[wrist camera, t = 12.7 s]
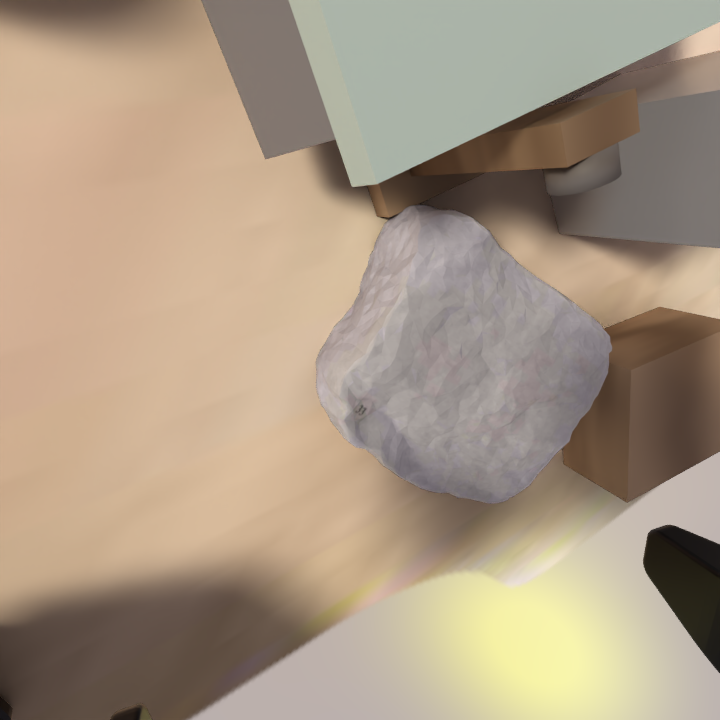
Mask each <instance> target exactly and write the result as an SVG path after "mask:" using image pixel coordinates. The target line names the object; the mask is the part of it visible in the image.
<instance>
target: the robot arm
mask: <svg viewBox="0 0 720 720" xmlns="http://www.w3.org/2000/svg"><path fill="white" fill-rule="evenodd" d="M643 564H644V568H645V571H646V573H647V575H648V576H649V578H650V579H651V581H652V582H653V584H654V585H655V586H656V588H657V589H658V591H659V592H660V593H661V595H662V596H663V598H664V599H665V601H666V602H667V603H668V605H669V606H670V608H671V609H672V610H673V612H674V613H675V615H676V616H677V617H678V619H679V620H680V622H681V623H682V624H683V626H684V627H685V629H686V630H687V632H688V633H689V634H690V636H691V637H692V639H693V640H694V641H695V643H696V644H697V645H698V647H699V648H700V649H701V651H702V652H703V653H704V655H705V656H706V657H707V658H708V660H709V661H710V662H711V663H712V664H713V666H714V667H715V668H716V669H717V670H718V672H719V673H720V544H717V543H715V542H713V541H710V540H708V539H706V538H703V537H701V536H698V535H696V534H693V533H691V532H689V531H686V530H684V529H681V528H679V527H676V526H673V525H665V526H662V527H659V528H656V529H653V530H651V531H650V532H649V533H648V536H647V541H646V547H645V553H644V558H643ZM11 717H12V707H11V706H10V704H8V703H7V702H6V701H5V700H4V699H3V698H2V697H1V696H0V720H11ZM110 720H152V718H151V716H150V714H149V712H148V710H147V708H146V706H145V705H144V704H141V703H139V704H136V705H133V706H130V707H127V708H124V709H121V710H119V711H117V712H116V713H115V714H114V715H113V716H112V717H111V719H110Z"/></svg>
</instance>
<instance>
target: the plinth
mask: <svg viewBox="0 0 720 720" xmlns="http://www.w3.org/2000/svg"><path fill="white" fill-rule="evenodd" d="M604 330H605V331H606V332H607V334H608V335H609V336H610V343H611V345H612V351H611V352H610V353H609V368H608V374H607V376H606V378H605V381H604V383H603V385H602V387H601V390H600V392H599V394H598V396H597V397H596V398H595V399H594V402H593V404H592V406H591V408H590V410H589V411H588V412H587V413H586V414H585V415H584V416H583V417H582V418H581V419H580V421H579V423H578V425H577V426H576V427H575V429H574V430H573V432H572V434H571V437H570V441H569V442H568V443H567V444H566V445H565V446H564V447H563V458H564V465H566V466H568V467H569V468H571V469H573V470H574V471H576V472H577V473H579V474H581V475H582V476H584V477H586V478H587V479H589V480H591V481H592V482H594V483H596V484H597V485H599V486H601V487H602V488H604V489H606V490H607V491H609V492H611V493H612V494H614V495H616V496H617V497H619V498H621V499H622V500H624V501H626V502H629V501H631V500H633V499H635V498H636V497H638V496H640V495H642V494H644V493H646V492H647V491H649V490H651V489H653V488H655V487H656V486H658V485H660V484H662V483H664V482H665V481H667V480H669V479H671V478H673V477H674V476H676V475H678V474H680V473H682V472H683V471H685V470H687V469H689V468H690V467H693V466H694V465H696V464H698V463H700V462H701V461H703V460H705V459H707V458H709V457H711V456H712V455H714V454H716V453H718V452H720V319H715V318H711V317H706V316H701V315H696V314H691V313H686V312H682V311H677V310H672V309H667V308H662V307H659V308H656V309H653V310H651V311H648V312H646V313H643V314H641V315H638V316H636V317H633V318H631V319H628V320H625V321H623V322H620V323H618V324H615V325H613V326H610V327H608V328H605V329H604Z"/></svg>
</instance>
